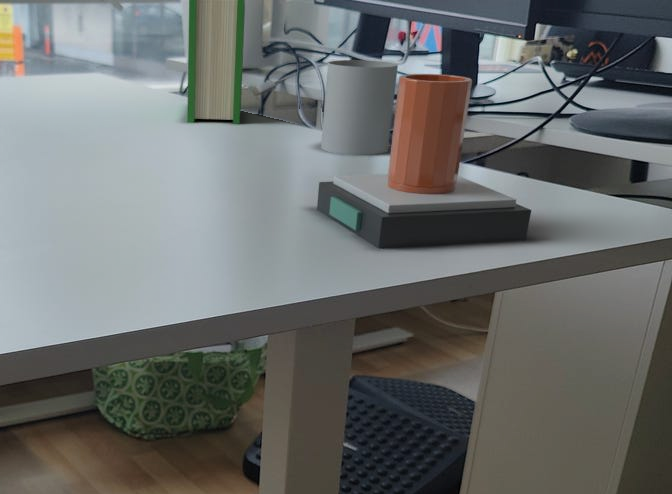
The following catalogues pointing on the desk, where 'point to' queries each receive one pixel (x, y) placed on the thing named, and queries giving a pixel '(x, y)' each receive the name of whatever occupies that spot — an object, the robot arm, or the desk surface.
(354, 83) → the cup
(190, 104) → the hardback book
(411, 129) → the tumbler
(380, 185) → the scale
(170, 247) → the desk surface
